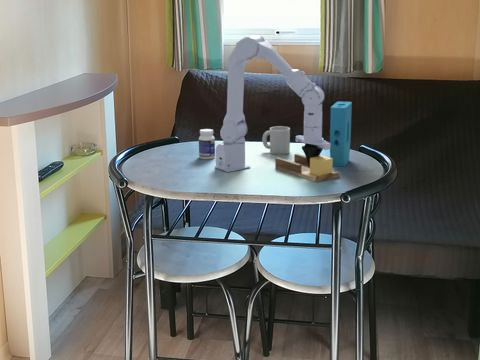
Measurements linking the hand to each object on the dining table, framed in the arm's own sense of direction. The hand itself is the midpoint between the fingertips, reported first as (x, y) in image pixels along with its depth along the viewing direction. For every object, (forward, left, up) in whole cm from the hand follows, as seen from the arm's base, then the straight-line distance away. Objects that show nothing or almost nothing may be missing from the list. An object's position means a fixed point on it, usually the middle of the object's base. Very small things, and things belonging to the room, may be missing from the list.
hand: (312, 167), depth 216 cm
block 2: (+17, +5, -2) cm, 18 cm away
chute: (0, +3, -2) cm, 4 cm away
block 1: (0, -4, -1) cm, 4 cm away
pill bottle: (-15, +39, -2) cm, 42 cm away
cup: (+9, +30, -2) cm, 32 cm away
